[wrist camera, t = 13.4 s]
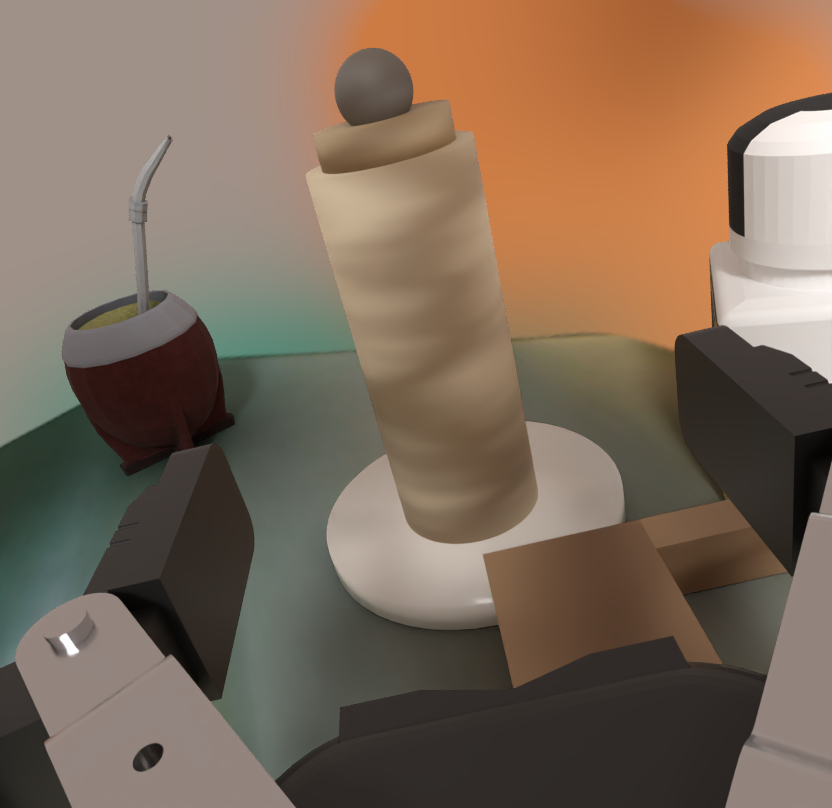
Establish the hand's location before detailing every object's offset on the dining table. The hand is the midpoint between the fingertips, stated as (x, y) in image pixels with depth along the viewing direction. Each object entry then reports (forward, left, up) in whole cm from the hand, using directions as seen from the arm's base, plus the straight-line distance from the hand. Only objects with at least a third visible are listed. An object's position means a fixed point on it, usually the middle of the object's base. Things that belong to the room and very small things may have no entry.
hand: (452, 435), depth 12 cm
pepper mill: (0, +11, -9) cm, 14 cm away
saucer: (0, +11, -10) cm, 15 cm away
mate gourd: (-14, +23, -10) cm, 29 cm away
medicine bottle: (+13, +11, -10) cm, 20 cm away
